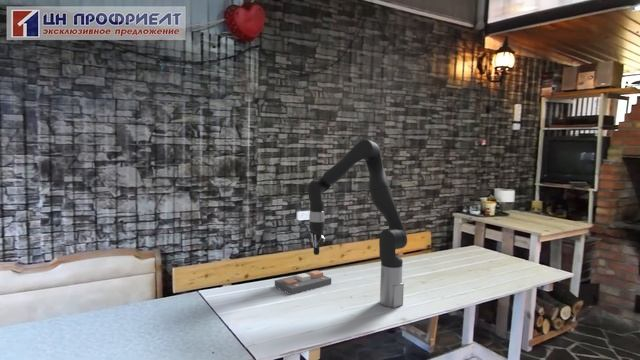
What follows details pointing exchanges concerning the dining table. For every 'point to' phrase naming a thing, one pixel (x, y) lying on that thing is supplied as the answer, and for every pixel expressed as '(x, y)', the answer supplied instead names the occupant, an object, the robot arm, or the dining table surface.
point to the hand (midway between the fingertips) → (316, 254)
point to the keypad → (302, 284)
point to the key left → (289, 281)
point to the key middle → (303, 277)
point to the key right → (316, 274)
